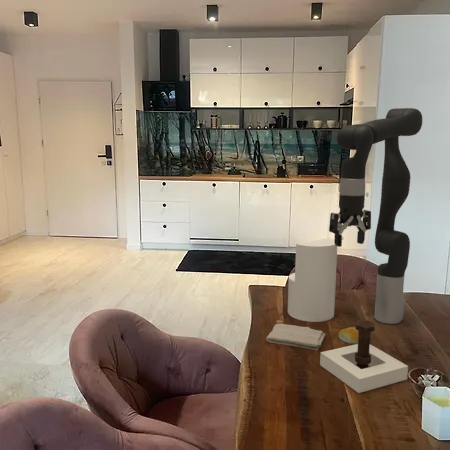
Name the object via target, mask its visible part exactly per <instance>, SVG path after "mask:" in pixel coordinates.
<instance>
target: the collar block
mask: <svg viewBox="0 0 450 450" xmlns="http://www.w3.org/2000/svg"><path fill="white" fill-rule="evenodd" d="M357 351H358V344H352V345H351V344H350V345H347V346H343V347H338V348H333V349H329V350H325V351H321V352H320V356H319V357H320V358H319V359H320V361H319V365H320V367H322V368H324V369H325V370H326V371H327V372H329V373H331V374H332V375H333V376H334V377H336V378H337V379H339V381H341V382H343V383H344V384H345V385H346V386H348V387H349V388H351V389H352V390H354V391H355V392H357V394H361V393H364V392H368V391H372V390H375V389H378V388H382V387H385V386H390V385H392V384H395V383H398V382H399V383H400V382H403V381H407V380H408V372H409V365H407V364H405V363H403V362H402V361H400V360H398V359H396V358H395V357H393V356H391V355H390V354H388V353H386V352H384V351H382V350H381V349H379V348H377V347H376V346H374V345H372V344H370V347H369V354H370V355H371V363H369V364H368V368H365V369H360V368H359V367H357V362H356V361H355V353H356V352H357Z"/></svg>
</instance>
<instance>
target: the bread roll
mask: <svg viewBox="0 0 450 450" xmlns="http://www.w3.org/2000/svg"><path fill="white" fill-rule="evenodd" d="M338 338H339V340H340V341H341V342H344V343H347V344H349V345H351V344H352V345H355V344H358V330H356V328H355V326H350V327H347V328H343V329H341V330H340V331H339V332H338Z"/></svg>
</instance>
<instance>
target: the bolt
mask: <svg viewBox="0 0 450 450" xmlns="http://www.w3.org/2000/svg"><path fill="white" fill-rule="evenodd" d="M354 323H355V324H354V327H355V328H356V330H358V351H357V352H356V353H355V361H356V362H357V364H356V366H357V367H359V368H360V369H365V368H368V367H369V365H368V364H369V363H371V355H370V354H369V347H370V345H371V344H370V343H371V336H372V332H375V329H376V328H375V326H376V325H375V323H374V322H373V321H371V320H368V319H358V320H356V321H355V322H354Z"/></svg>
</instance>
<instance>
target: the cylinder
mask: <svg viewBox="0 0 450 450" xmlns="http://www.w3.org/2000/svg"><path fill="white" fill-rule="evenodd" d="M334 240H335V238H331V237H329V238H322V239H317V240H311V241H306V242H299V243H296V244H295V265H294V266H295V267H294V269H295V270H294V272H292V273H291V274H289V276H288V289H287V290H288V293H287V314H288V315H289V316H290V317H291V318H293V319H296V320H299V321H303V322H309V323H310V322H311V323H315V322H316V323H318V322H326V321H329V320H331V319H333V318H334V316H335V303H336V286H337V285H336V283H337V280H336V279H337V264H338V262H337V261H338V246H336V245H335V243H334Z"/></svg>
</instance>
